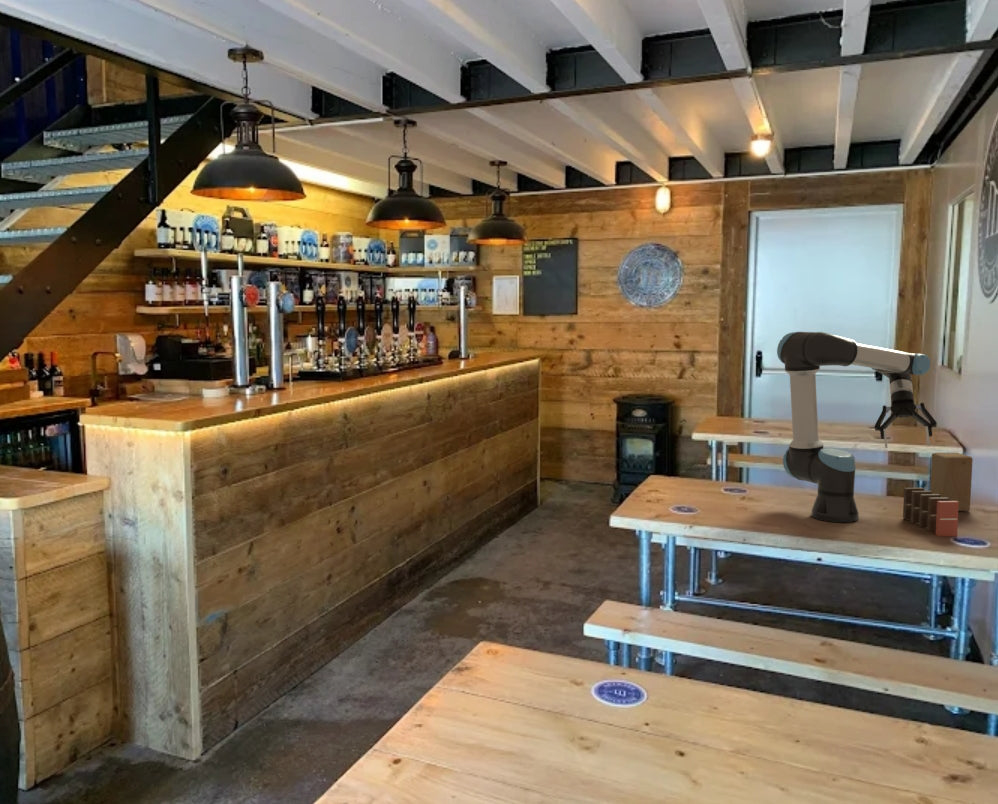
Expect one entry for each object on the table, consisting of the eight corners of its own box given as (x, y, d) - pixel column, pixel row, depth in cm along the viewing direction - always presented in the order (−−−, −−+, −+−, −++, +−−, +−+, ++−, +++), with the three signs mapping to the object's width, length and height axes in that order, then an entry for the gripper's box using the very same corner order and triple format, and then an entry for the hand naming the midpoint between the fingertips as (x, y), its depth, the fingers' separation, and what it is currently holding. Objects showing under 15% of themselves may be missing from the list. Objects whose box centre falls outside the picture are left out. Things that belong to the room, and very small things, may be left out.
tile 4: (926, 530, 257) (928, 497, 256) (945, 530, 257) (946, 497, 256) (929, 531, 255) (931, 498, 254) (948, 531, 255) (949, 498, 254)
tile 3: (918, 526, 262) (919, 494, 261) (936, 526, 262) (937, 493, 261) (921, 527, 260) (922, 495, 259) (939, 527, 260) (940, 495, 259)
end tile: (935, 534, 252) (937, 501, 251) (954, 534, 252) (955, 500, 251) (938, 536, 250) (940, 502, 249) (957, 536, 250) (958, 502, 249)
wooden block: (971, 512, 280) (974, 456, 278) (942, 512, 280) (945, 457, 278) (955, 505, 290) (958, 452, 288) (928, 505, 290) (930, 452, 288)
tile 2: (910, 522, 267) (911, 490, 265) (928, 522, 267) (929, 490, 266) (913, 524, 265) (914, 492, 264) (930, 523, 265) (932, 491, 264)
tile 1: (902, 519, 272) (904, 487, 271) (920, 518, 272) (921, 487, 271) (905, 520, 270) (906, 488, 269) (922, 520, 270) (924, 488, 269)
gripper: (939, 396, 291) (946, 447, 281) (865, 401, 302) (869, 451, 292) (940, 386, 285) (946, 438, 275) (864, 392, 296) (868, 442, 287)
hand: (907, 445), depth 284 cm, fingers open, 13 cm apart
